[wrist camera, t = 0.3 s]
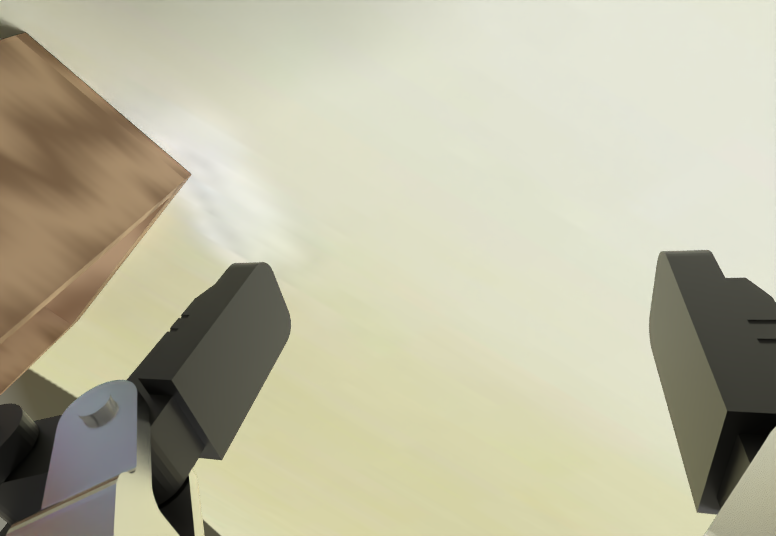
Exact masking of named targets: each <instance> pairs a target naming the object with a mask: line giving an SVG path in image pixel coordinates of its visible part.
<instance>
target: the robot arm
mask: <svg viewBox="0 0 776 536" xmlns="http://www.w3.org/2000/svg"><path fill="white" fill-rule="evenodd" d="M181 316H182V317H181V318H178V319H177V321H176V322H175V323H174V324H173V325H172V327H171V328H170V332H167V333H166V334H165V335H164V336H163V337H162V339H161V340H160V341H159V342H158V343H157V344H156V346H155V347H154V348H153V349H152V350H151V352H150V353H149V354H148V355H147V356H146V358H145V359H144V360H143V361H142V362H141V364H140V365H139V366H138V367H137V368H136V369H135V371H134V372H133V373H132V374H131V375H130V377H129V378H128V379H127V380H115V381H110V382H106V383H104V384H101V385H99V386H96V387H94V388H92V389H91V390H89V391H87V392H86V393H84V394H83V395H81V396H80V397H79V398H77V399H76V400H75V401H74V402H73V403H72V404H71V405H70V406H69V407H68V408H67V409H66V410H65V412H64V413H63V415H59V416H54V417H50V418H46V419H41V420H37V421H33V420H32V419H31V418H30V417H29V416H28V415H27V414H26V413H25V411H24V410H23V409H22V408H21V407H20V406H19V405H16V404H3V405H0V517H1V518H3V519H4V520H5V521H6V522H7V524H6V525H5V527H4V528H3V529H2V530H1V532H0V536H204V528H203V519H202V511H201V502H200V494H199V485H198V478H197V475H196V473H195V471H194V470H193V466H194V465H195V463H196V461H197V460H198V458H206V459H216V460H222V459H223V457H224V455H225V453H226V452H227V450H228V448H229V446H230V444H231V443H232V441H233V439H234V437H235V435H236V433H237V432H238V430H239V428H240V426H241V424H242V422H243V421H244V419H245V417H246V415H247V413H248V412H249V410H250V408H251V406H252V404H253V402H254V401H255V399H256V397H257V395H258V393H259V391H260V390H261V388H262V386H263V384H264V382H265V381H266V379H267V377H268V375H269V373H270V371H271V370H272V368H273V366H274V364H275V362H276V360H277V359H278V357H279V355H280V353H281V351H282V350H283V348H284V346H285V344H286V342H287V340H288V338H289V335H290V329H291V320H290V314H289V311H288V309H287V306H286V304H285V301H284V299H283V296H282V293H281V291H280V288H279V286H278V283H277V281H276V278H275V276H274V273H273V271H272V269H271V267H270V266H269V265H268V264H267V263H264V262H259V263H234V264H232V265H231V266H230V267H229V268H228V269H227V270H226V271H225V273H224V274H223V275H222V276H221V277H220V279H219V280H218V281H217V282H216V284H215V285H213V286H212V287H210V288H209V289H208V290H206V291H205V292H204V293H202V294H201V295H200V296H198V297H197V298H195V299H194V300H193V302H192V303H191V304H190V305H189V306H188V308H187V309H186V310H185V311H184V312H183V314H182V315H181ZM649 333H650V343H651V348H652V352H653V356H654V359H655V363H656V366H657V370H658V374H659V377H660V381H661V384H662V388H663V392H664V395H665V399H666V402H667V406H668V410H669V413H670V417H671V420H672V424H673V428H674V431H675V435H676V438H677V442H678V446H679V449H680V453H681V456H682V460H683V464H684V467H685V471H686V474H687V478H688V482H689V485H690V489H691V492H692V496H693V500H694V503H695V507H696V510H697V512H699V513H708V514H717V516H716V517H715V519H714V521H713V522H712V524H711V525H710V527H709V528H708V530H707V531H706V533H705V534H704V536H776V302H775V301H774V299H773V298H772V297H771V296H770V295H769V294H767V293H766V292H765V291H763V290H762V289H760V288H759V287H758V286H756V285H755V284H754V283H752V282H751V281H749V280H748V279H747V278H725V277H724V275H723V273H722V271H721V269H720V267H719V265H718V263H717V261H716V260H715V258H714V256H713V254H712V253H711V252H710V251H709V250H694V251H662V252H660V254H659V257H658V261H657V267H656V274H655V281H654V289H653V296H652V303H651V310H650V318H649Z"/></svg>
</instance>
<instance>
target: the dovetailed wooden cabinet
mask: <svg viewBox="0 0 776 536" xmlns="http://www.w3.org/2000/svg"><path fill="white" fill-rule="evenodd" d="M190 176H191V174H190V173H189V172H188V171H187V170H186V169H184V168H183V167H182V166H181V165H180V164H179V163H177V162H176V161H175V160H174V159H173V158H171V157H170V156H169V155H168V154H167V153H166V152H164V151H163V150H162V149H161V148H160V147H159V146H157V145H156V144H155V143H154V142H153V141H152V140H150V139H149V138H148V137H147V136H146V135H145V134H143V133H142V132H141V131H140V130H139V129H138V128H136V127H135V126H134V125H133V124H132V123H131V122H129V121H128V120H127V119H126V118H125V117H124V116H122V115H121V114H120V113H119V112H118V111H117V110H115V109H114V108H113V107H112V106H111V105H110V104H108V103H107V102H106V101H105V100H104V99H103V98H101V97H100V96H99V95H98V94H97V93H96V92H94V91H93V90H92V89H91V88H90V87H89V86H87V85H86V84H85V83H84V82H83V81H82V80H80V79H79V78H78V77H77V76H76V75H75V74H73V73H72V72H71V71H70V70H69V69H68V68H66V67H65V66H64V65H63V64H62V63H61V62H59V61H58V60H57V59H56V58H55V57H54V56H52V55H51V54H50V53H49V52H48V51H47V50H45V49H44V48H43V47H42V46H41V45H40V44H38V43H37V42H36V41H35V40H34V39H33V38H31V37H30V36H29V35H28V34H27V33H26V32H25V33H22V34H18V35H15V36H12V37H8V38H5V39H2V40H0V395H1V394H2V393H3V392H4V391H5V390H6V389H7V388H9V387H10V385H12V384H13V383H14V382H15V381H16V380H17V379H18V378H19V377H20V376H21V375H22V374H23V373H24V372H25V371H26V370H27V369H28V368H29V367H30V366H31V365H32V364H33V363H34V362H35V361H37V360H38V359H39V358H40V357H41V356H42V355H43V354H44V353H45V352H46V351H47V350H48V349H49V348H50V347H51V346H52V345H53V344H54V343H55V342H56V341H57V340H58V339H59V338H60V337H61V336H62V335H64V334H65V333H66V332H67V331H68V330H69V329H70V328H71V327H72V326H73V325H74V324H75V323H76V322H77V321H78V320H79V319H80V317H81V316H82V315H83V313H84V312H85V311H86V310H87V308H88V307H89V306H90V304H91V303H92V302H93V301H94V299H95V298H96V297H97V295H98V294H99V293H100V292H101V290H102V289H103V288H104V286H105V285H106V284H107V283H108V281H109V280H110V279H111V277H112V276H113V275H114V274H115V272H116V271H117V270H118V268H119V267H120V266H121V265H122V263H123V262H124V261H125V259H126V258H127V257H128V256H129V254H130V253H131V252H132V250H133V249H134V248H135V247H136V245H137V244H138V243H139V241H140V240H141V239H142V238H143V236H144V235H145V234H146V232H147V231H148V230H149V228H150V227H151V226H152V225H153V223H154V222H155V221H156V219H157V218H158V217H159V216H160V214H161V213H162V212H163V210H164V209H165V208H166V207H167V205H168V204H169V203H170V201H171V200H172V199H173V198H174V196H175V195H176V194H177V192H178V191H179V190H180V189H181V187H182V186H183V185H184V183H185V182H186V181H187V180H188V178H189V177H190Z"/></svg>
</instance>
